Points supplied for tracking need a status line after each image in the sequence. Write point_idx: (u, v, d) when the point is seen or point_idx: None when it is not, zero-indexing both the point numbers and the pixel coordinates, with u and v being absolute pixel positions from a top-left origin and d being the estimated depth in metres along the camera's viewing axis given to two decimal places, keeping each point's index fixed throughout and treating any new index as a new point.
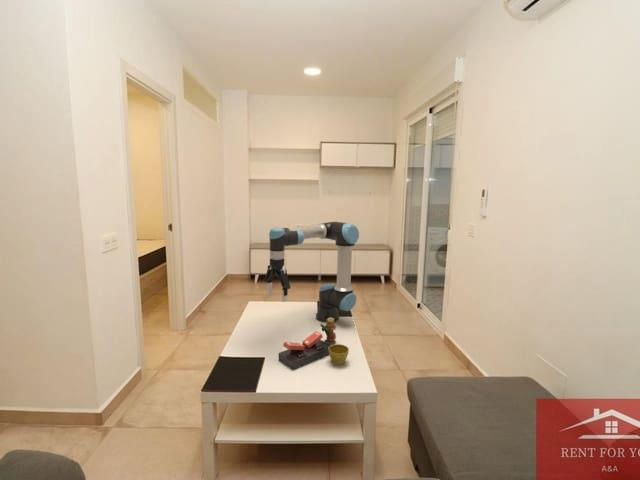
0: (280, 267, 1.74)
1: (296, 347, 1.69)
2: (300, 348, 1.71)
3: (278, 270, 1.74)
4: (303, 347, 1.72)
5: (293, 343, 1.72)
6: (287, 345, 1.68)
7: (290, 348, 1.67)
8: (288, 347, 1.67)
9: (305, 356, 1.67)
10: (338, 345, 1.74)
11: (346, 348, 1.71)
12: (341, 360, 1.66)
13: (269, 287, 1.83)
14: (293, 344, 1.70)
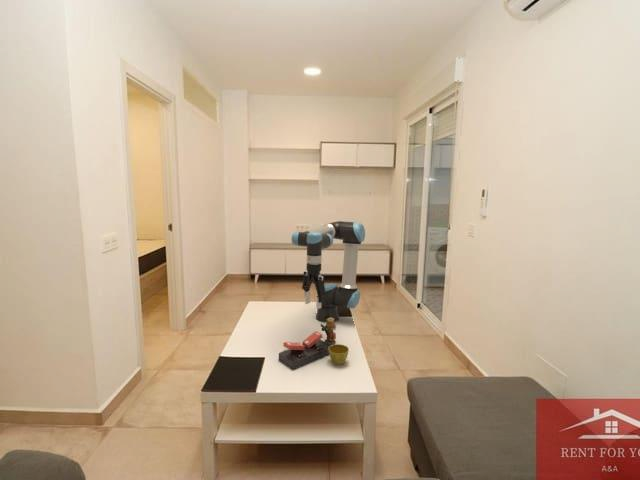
0: (317, 272, 1.70)
1: (296, 347, 1.69)
2: (300, 348, 1.71)
3: (315, 275, 1.71)
4: (303, 347, 1.72)
5: (293, 343, 1.72)
6: (287, 345, 1.68)
7: (290, 348, 1.67)
8: (288, 347, 1.67)
9: (305, 356, 1.67)
10: (338, 345, 1.74)
11: (346, 348, 1.71)
12: (341, 360, 1.66)
13: (307, 296, 1.79)
14: (293, 344, 1.70)
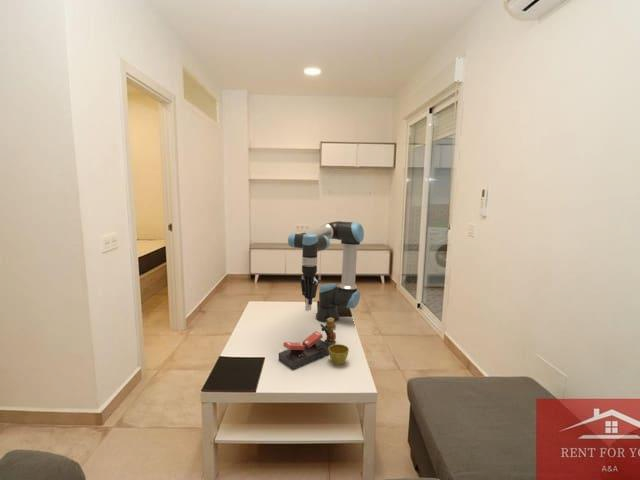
0: (313, 274, 1.68)
1: (296, 347, 1.69)
2: (300, 348, 1.71)
3: (311, 277, 1.69)
4: (303, 347, 1.72)
5: (293, 343, 1.72)
6: (287, 345, 1.68)
7: (290, 348, 1.67)
8: (288, 347, 1.67)
9: (305, 356, 1.67)
10: (338, 345, 1.74)
11: (346, 348, 1.71)
12: (341, 360, 1.66)
13: None
14: (293, 344, 1.70)
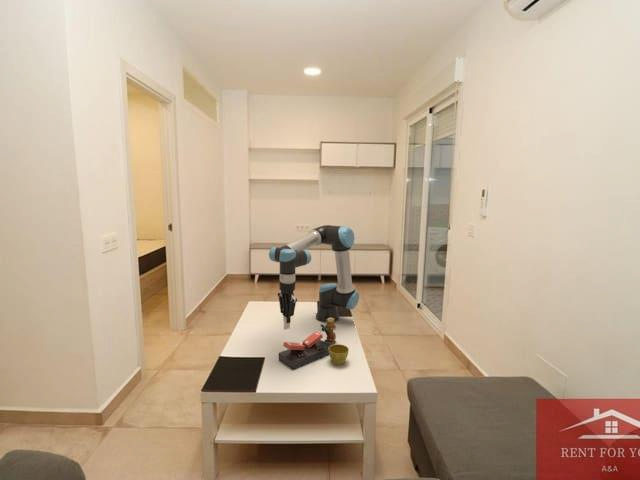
0: (291, 292, 1.61)
1: (296, 347, 1.69)
2: (300, 348, 1.71)
3: (289, 295, 1.61)
4: (303, 347, 1.72)
5: (293, 343, 1.72)
6: (287, 345, 1.68)
7: (290, 348, 1.67)
8: (288, 347, 1.67)
9: (305, 356, 1.67)
10: (338, 345, 1.74)
11: (346, 348, 1.71)
12: (341, 360, 1.66)
13: None
14: (293, 344, 1.70)
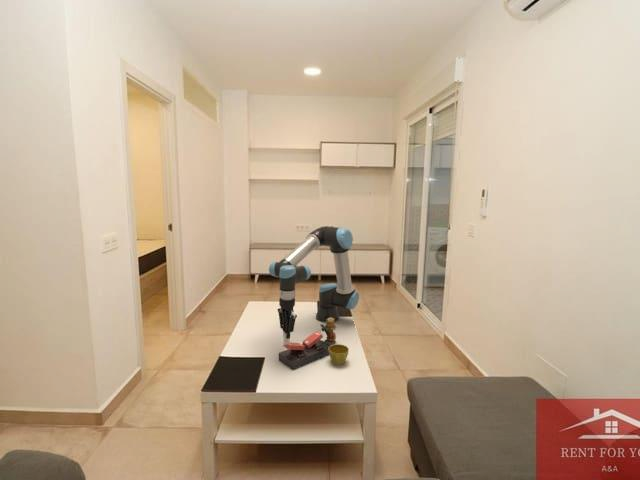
0: (290, 308, 1.62)
1: (296, 347, 1.69)
2: (300, 348, 1.71)
3: (288, 311, 1.62)
4: (303, 347, 1.72)
5: (293, 343, 1.72)
6: (287, 345, 1.68)
7: (290, 348, 1.67)
8: (288, 347, 1.67)
9: (305, 356, 1.67)
10: (338, 345, 1.74)
11: (346, 348, 1.71)
12: (341, 360, 1.66)
13: None
14: (293, 344, 1.70)
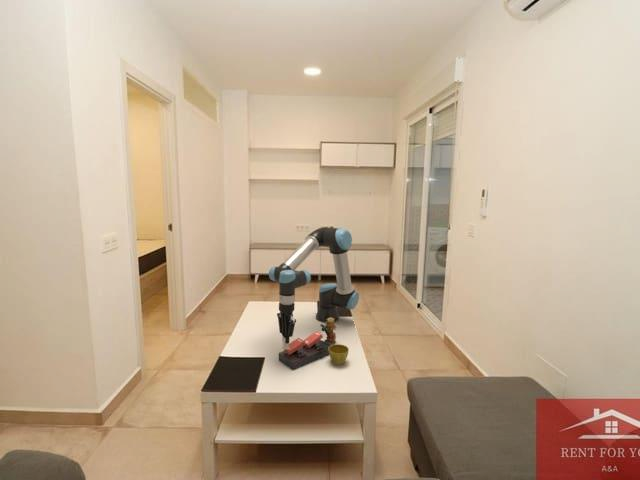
0: (290, 313, 1.62)
1: (296, 348, 1.69)
2: (300, 346, 1.71)
3: (288, 316, 1.63)
4: (303, 343, 1.72)
5: (292, 343, 1.72)
6: (286, 351, 1.68)
7: (290, 352, 1.67)
8: (288, 352, 1.67)
9: (305, 356, 1.67)
10: (338, 345, 1.74)
11: (346, 348, 1.71)
12: (341, 360, 1.66)
13: None
14: (292, 346, 1.70)
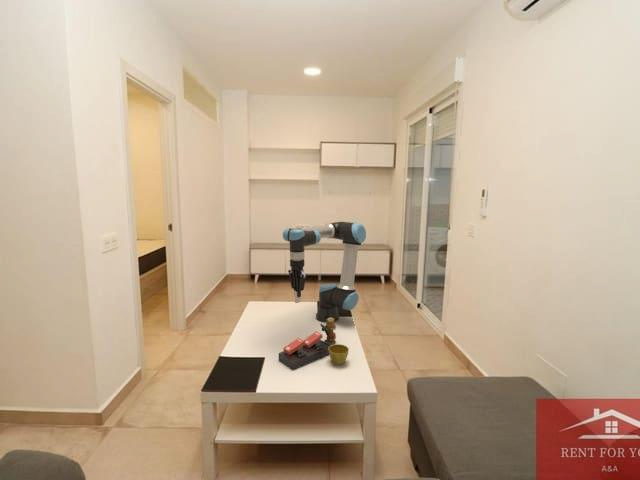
0: (301, 268, 1.75)
1: (296, 348, 1.69)
2: (300, 345, 1.71)
3: (299, 271, 1.75)
4: (303, 343, 1.72)
5: (292, 343, 1.72)
6: (286, 351, 1.68)
7: (290, 352, 1.67)
8: (288, 353, 1.67)
9: (305, 356, 1.67)
10: (338, 345, 1.74)
11: (346, 348, 1.71)
12: (341, 360, 1.66)
13: None
14: (292, 346, 1.70)
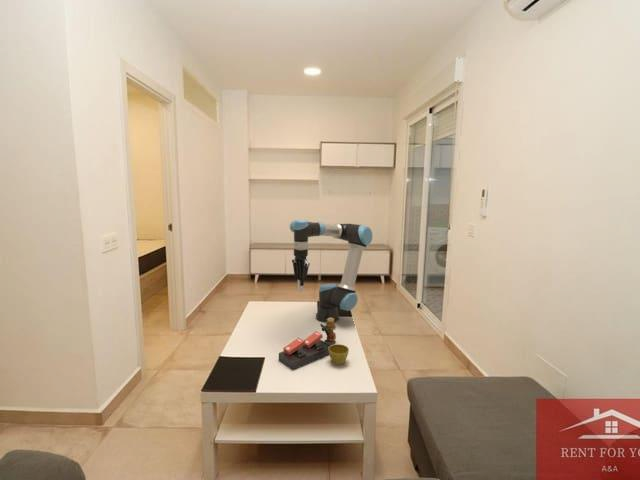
0: (304, 257, 1.81)
1: (296, 348, 1.69)
2: (300, 345, 1.71)
3: (302, 260, 1.81)
4: (303, 343, 1.72)
5: (292, 343, 1.72)
6: (286, 351, 1.68)
7: (290, 352, 1.67)
8: (288, 353, 1.67)
9: (305, 356, 1.67)
10: (338, 345, 1.74)
11: (346, 348, 1.71)
12: (341, 360, 1.66)
13: None
14: (292, 346, 1.70)
